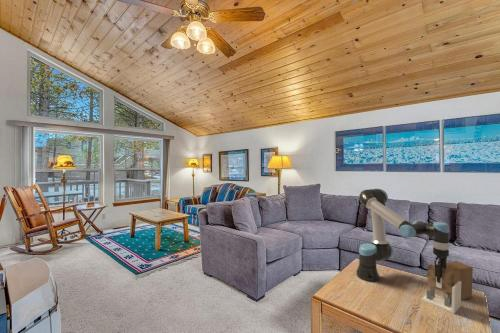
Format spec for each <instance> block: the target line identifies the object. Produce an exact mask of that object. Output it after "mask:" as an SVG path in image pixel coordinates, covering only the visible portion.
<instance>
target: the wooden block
mask: <svg viewBox="0 0 500 333" xmlns="http://www.w3.org/2000/svg"><path fill="white" fill-rule="evenodd" d="M446 269H448V270H451V271H454V285H455V284H456V283H457V282H458V281H460V282H461V301H463V300H466V299H470V298H472V297H473V273H474V272H473V270H474V269H473V267H472V266H471V265H467V264H465V263H462V262H460V261H457V260H455V261H450V262H448V261H447V262H446ZM444 292H445V293H447V294H450V295H452V293H449V292H446V291H444Z"/></svg>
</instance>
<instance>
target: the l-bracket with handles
mask: <svg viewBox="0 0 500 333" xmlns="http://www.w3.org/2000/svg"><path fill="white" fill-rule="evenodd" d="M420 300H421V301H422V302H425V303H427V304H429V305H431V306H433V307H436V308H438V309H440V310H443V311H446V312H447V313H451V314H453V315H454V314H456V313H457V311H459V309H460V308H461V306H462V300H461V282H460V281H458V282H457V283H456V284H455V285H454V286H453V287H452V295H451V294H449V293H447V297H446V296H444V297H442V296H440V295H437V294H436V288H435V287H432V286H430V288H429V290H428V289H427V290H426V294H425V295H424V296H423V297H421V299H420Z"/></svg>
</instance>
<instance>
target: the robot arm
mask: <svg viewBox="0 0 500 333" xmlns="http://www.w3.org/2000/svg"><path fill="white" fill-rule="evenodd" d="M358 196H359V197H358V199H359V202H360V203H361V205H363V207H365V208H366V209H367V210H368V209H370V213H371V224H372V236H373V237H372V238H373V239H372V240H371V243H367V242H366V243H362V244H360V245H359V247H358V248H359V249H358V257H359V258H358V267H357V270H356V276H357V278H359V279H360V280H362V281H363V280H364V281H367V282H377V281H379V280H380V274H379V271H378V268H377V263H378V262H382V261H387V260H389V259H391V258H392V257H393V255H394V249H393V247H392V245H391V244H390V242H389V241H388V240H387V235H386V234H387V233H386V223H385V222H386V221H387V222H388V223H389V224H391V225H392V226H393V227H395V228H396V229H398V230H399V233H400V235H401V236H403V237H404V238H407V239H408V238H414V237H418V236H424V235H425V236H429V237H432V238H433V239H432V240H433V241H432V247H433V248H432V253H433V254H434V255H436V257H435V260H434V262H433V263H434V266H435V275H434V276H436V287H438V288H441V289H442V277H441V275H442V268H444V269H446V263H447V262H448V261H447V260H448V257H449V256H450V251H449V248H450V246H451V244H450V226H449V224H448V223H446V222H443V221H442V222H441V221H435V222H433V223H429V222H424V221H422V220H420V221H419V220H415V221H413V222H412V223H411V222H410V221H408V220H406V219H405V218H403V217H402V216H400V215H399V214H398V213H396V212H394V211H393V210H391V209H390V208H389V207H388V206H386V203H387V202H388V200H389V196H388V193H387V192H386V191H385V190H383V189H381V188H372V189H371V188H370V189H363V190H362V191H361V192H360V193H359V195H358ZM438 288H437V289H438Z"/></svg>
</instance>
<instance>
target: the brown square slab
mask: <svg viewBox="0 0 500 333" xmlns="http://www.w3.org/2000/svg"><path fill="white" fill-rule="evenodd" d="M434 275H435V264H434V265H433V264H429V265H427V286H430V287H431V288H434V289H438V290H439V291H440V290H441V291H444V292H445V291H446V292H445V293H447V292H449V293H452V287H453V286H454V271H451V270H448V269H444V268H442V275H441V277H442V289H441V288H438V287H436V276H434ZM449 293H448V294H449Z"/></svg>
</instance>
